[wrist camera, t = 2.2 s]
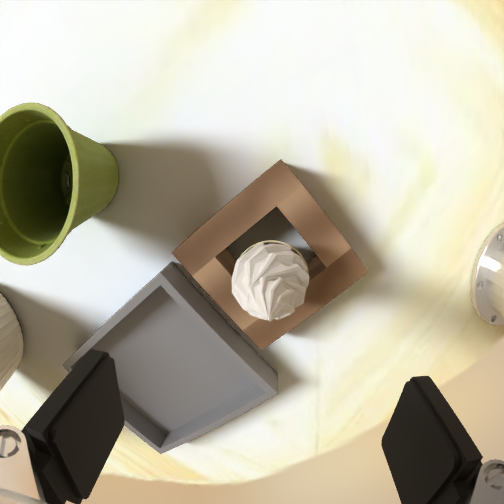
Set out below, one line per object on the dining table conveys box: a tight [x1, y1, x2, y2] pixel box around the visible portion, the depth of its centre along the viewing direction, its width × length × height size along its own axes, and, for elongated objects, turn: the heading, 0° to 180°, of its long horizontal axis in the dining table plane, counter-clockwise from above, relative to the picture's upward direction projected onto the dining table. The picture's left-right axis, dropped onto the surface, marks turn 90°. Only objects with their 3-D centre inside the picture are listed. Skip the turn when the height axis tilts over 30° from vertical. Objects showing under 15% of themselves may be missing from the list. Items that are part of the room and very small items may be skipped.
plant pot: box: [0, 103, 119, 265], centre depth 23 cm, size 12×12×11 cm
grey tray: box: [63, 262, 278, 454], centre depth 32 cm, size 16×18×4 cm
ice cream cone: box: [232, 240, 309, 322], centre depth 22 cm, size 5×5×15 cm
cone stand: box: [172, 160, 368, 350], centre depth 27 cm, size 11×11×4 cm
